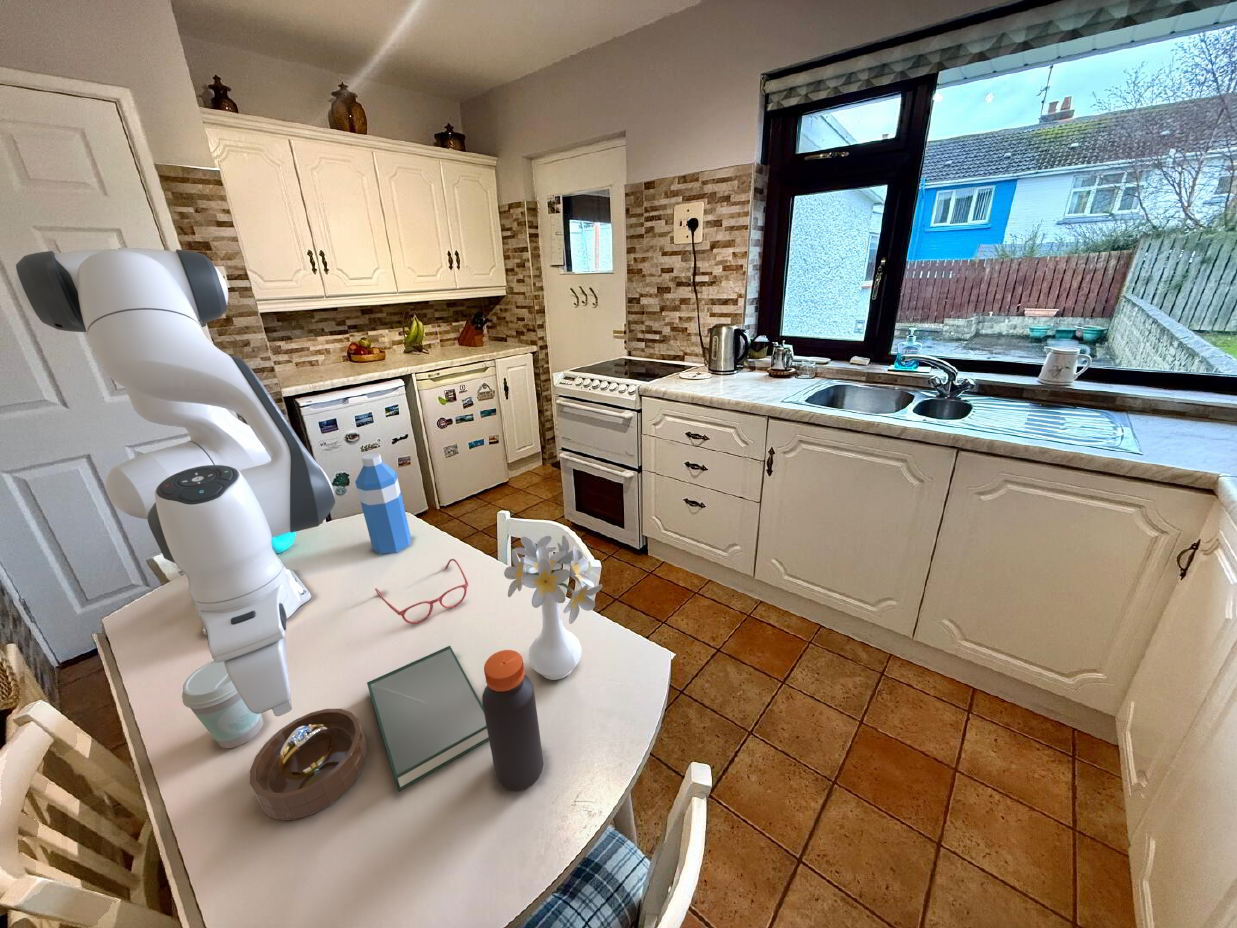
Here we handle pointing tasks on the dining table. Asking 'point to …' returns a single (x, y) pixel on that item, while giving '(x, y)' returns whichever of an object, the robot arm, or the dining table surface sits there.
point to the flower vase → (552, 601)
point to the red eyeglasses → (429, 601)
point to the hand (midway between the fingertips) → (282, 685)
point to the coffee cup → (220, 706)
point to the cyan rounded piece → (283, 541)
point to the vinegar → (512, 721)
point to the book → (427, 715)
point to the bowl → (317, 788)
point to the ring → (299, 739)
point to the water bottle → (382, 505)
